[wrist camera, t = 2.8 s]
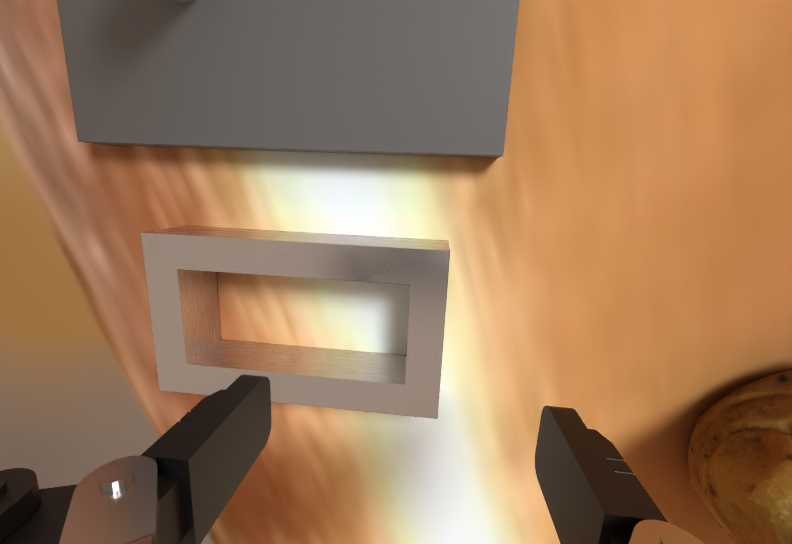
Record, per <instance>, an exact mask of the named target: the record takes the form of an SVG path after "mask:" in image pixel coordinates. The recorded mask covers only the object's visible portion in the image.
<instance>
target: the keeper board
mask: <svg viewBox="0 0 792 544" xmlns="http://www.w3.org/2000/svg"><path fill="white" fill-rule="evenodd" d="M57 4H58V11H59V17H60V24H61V31H62V37H63V44H64V51H65V57H66V64H67V70H68V77H69V84H70V90H71V97H72V103H73V110H74V117H75V123H76V130H77V136H78V141H79V142H87V143H94V144H102V145H123V146H153V147H183V148H212V149H242V150H272V151H302V152H331V153H361V154H391V155H420V156H450V157H480V158H499V157H501V156H503V151H504V142H505V132H506V122H507V112H508V103H509V93H510V83H511V74H512V64H513V54H514V45H515V35H516V25H517V16H518V6H519V0H57Z"/></svg>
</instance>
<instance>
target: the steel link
mask: <svg viewBox="0 0 792 544" xmlns="http://www.w3.org/2000/svg"><path fill="white" fill-rule="evenodd" d="M141 238H142V247H143V255H144V263H145V271H146V280H147V288H148V296H149V305H150V313H151V321H152V330H153V338H154V346H155V354H156V363H157V371H158V379H159V388H160V390H163V391H173V392H183V393H192V394H202V395H211V394H213V393H215V392H217V391H219V390H221V389H223V390H226V389H227V388H228V387H229V386H230V385H231V384H232V383H233V382H234V381H235V380H236V379H237V378H238V377H239V376H240V375H243V374H245V375H255V376H265V377H268V378H269V380H270V391H271V402H280V403H289V404H299V405H309V406H318V407H328V408H338V409H347V410H357V411H367V412H376V413H386V414H396V415H405V416H415V417H425V418H434V419H437V417H438V404H439V391H440V378H441V365H442V351H443V338H444V325H445V312H446V299H447V285H448V272H449V259H450V248H449V242H448V241H447V240H429V239H411V238H393V237H375V236H358V235H340V234H322V233H304V232H286V231H268V230H250V229H232V228H214V227H197V226H181V227H174V228H168V229H161V230H155V231H148V232H142V233H141ZM216 272H227V273H242V274H257V275H271V276H286V277H301V278H315V279H330V280H344V281H359V282H374V283H388V284H403V285H410V298H409V317H408V337H407V356H405V355H394V354H382V353H371V352H359V351H348V350H336V349H325V348H313V347H302V346H291V345H279V344H268V343H256V342H245V341H233V340H222V339H221V328H220V315H219V301H218V288H217V275H216Z"/></svg>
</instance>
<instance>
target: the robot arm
mask: <svg viewBox="0 0 792 544" xmlns="http://www.w3.org/2000/svg"><path fill="white" fill-rule="evenodd" d="M270 430H271V391H270V380H269V378H268V377H265V376H255V375H245V374H243V375H240V376H239V377H238V378H237V379H236V380H235V381H234V382H233V383H232V384H231V385H230V386H229V387H228V388H227V389H226V390H223V389H221V390H219V391H217V392H215V393H213V394H211V395H209V396H207V397H205V398H204V399H202V400H201V401H200V402H199V403H198V404H197V405H196V406H195V407H194V408H193V409H191V412H188V413H187V414H186V415H185V416H184V417H183V418H181V420H180V422H177V423H176V424H175V425H174V426H173V427H172V428H170V429H169V430H168V431H167V432H166V433H165V434H164V435H163V436H162V437H161V438H159V439H158V440H157V441H156V442H155V443H154V444H153V445H152V446H151V447H150V448H148V449H147V450H146V451H145V452H144V453H143V454H142V455H141V456H129V457H125V458H120V459H117V460H114V461H111V462H109V463H106V464H104V465H102V466H100V467H99V468H97V469H95V470H94V471H92V472H91V473H89V474H88V475H87V476H86V477H84V478H83V479H82V480H81V481H80V482H79V484H78V485H70V486H62V487H55V488H47V489H39V486H38V482H37V476H36V474H35V472H34V471H32V470H30V469H24V468H14V469H7V470H2V471H0V544H201V542H202V540H203V539H204V537H205V536H206V534H207V533H208V531H209V530H210V528H211V527H212V525H213V524H214V522H215V521H216V519H217V518H218V516H219V515H220V513H221V512H222V510H223V509H224V507H225V506H226V504H227V503H228V501H229V500H230V498H231V497H232V495H233V493H234V492H235V490H236V489H237V487H238V486H239V484H240V483H241V481H242V480H243V478H244V477H245V475H246V474H247V472H248V471H249V469H250V468H251V466H252V465H253V463H254V462H255V460H256V459H257V457H258V456H259V454H260V453H261V451H262V449H263V448H264V446H265V445H266V443H267V440H268V438H269V434H270ZM535 469H536V475H537V479H538V482H539V484H540V487H541V490H542V493H543V496H544V498H545V501H546V504H547V507H548V510H549V512H550V515H551V518H552V521H553V523H554V526H555V529H556V532H557V535H558V537H559V540H560V543H561V544H704V543H703V542H702V541H700V540H699V539H698V538H696V537H695V536H693V535H692V534H691V533H689V532H687V531H685V530H684V529H682V528H680V527H677V526H675V525H673V524H670V523H668V522H667V520H666V519H665V517H664V516H663V515H662V513H661V512H660V510H659V509H658V507H657V506H656V505H655V503H654V502H653V500H652V499H651V498H650V496H649V495H648V493H647V492H646V490H645V489H644V488H643V486H642V485H641V483H640V482H639V481H638V479H637V478H636V476H634V475H633V472H632V471H631V469H630V468H629V466H628V465H627V463H626V462H624V461H623V458H622V456H621V455H620V454H619V452H618V451H617V449H616V448H615V446H614V445H613V444H612V443H611V442H610V441H609V440H607V439H606V438H605V437H604V436H602V435H601V434H600V433H599V432H598V431H596V430H593V429H587V427H586V426H585V424H584V423H583V421H582V420H581V418H580V417H579V415H578V413H577V412H576V411H575V410H574V409H573V408H563V407H553V406H545V407H544V408H543V410H542V414H541V420H540V427H539V433H538V439H537V446H536V452H535Z"/></svg>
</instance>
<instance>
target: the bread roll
mask: <svg viewBox="0 0 792 544" xmlns="http://www.w3.org/2000/svg"><path fill="white" fill-rule="evenodd" d="M688 471H689V478H688V480H689V482H690V484H691V486H692V488H693V489H694V491H695V492H696V493H697V495H698V496H699V497H700V499H701V500H702V502H703V503H704V505H705V506H706V508H707V509H708V510H709V512H710V514H711V516H712V517H713V518H715V519H716V520H717V521H718V523H719V524H720V525H721V526H722V527H723V528H724V529H725V531H726V532H727V533H728V534H729V536H730V537H731V538H732V539H733V540H734V541H735V542H736V543H737V544H792V369H790V370H788V371H784V372H780V373H776V374H772V375H769V376H766V377H764V378H761V379H759V380H757V381H754V382H751V383H748V384H745V385H742V386H740V387H738V388H736V389H734V390H733V391H732V392H731V393H730V394H728V395H727V396H725V397H724V398H723V399H721V400H719V401H718V402H716V403H715V404H714V405H712V406H711V407H710V408H708V409H707V410H706V411H705V412H703V413H702V414H701V416H700V417H699V418H698V419H697V420H696V426H695V429H694V430H693V432H692V435H691V439H690V442H689V448H688Z"/></svg>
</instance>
